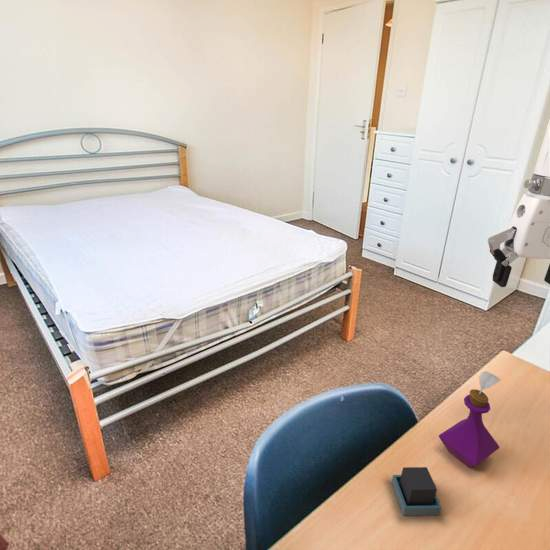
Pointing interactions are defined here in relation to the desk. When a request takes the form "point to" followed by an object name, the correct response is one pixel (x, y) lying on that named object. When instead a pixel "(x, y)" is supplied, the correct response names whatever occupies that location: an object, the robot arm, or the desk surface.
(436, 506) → the shallow rectangular tray
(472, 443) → the perfume bottle
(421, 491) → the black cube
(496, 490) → the desk surface
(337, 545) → the desk surface
